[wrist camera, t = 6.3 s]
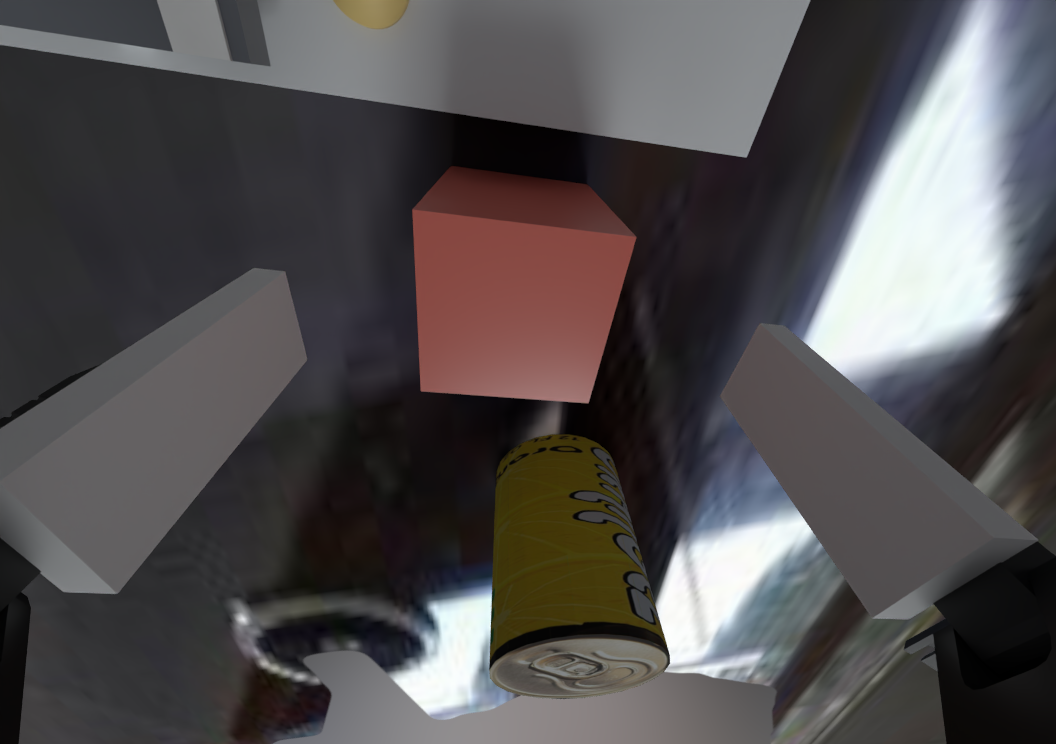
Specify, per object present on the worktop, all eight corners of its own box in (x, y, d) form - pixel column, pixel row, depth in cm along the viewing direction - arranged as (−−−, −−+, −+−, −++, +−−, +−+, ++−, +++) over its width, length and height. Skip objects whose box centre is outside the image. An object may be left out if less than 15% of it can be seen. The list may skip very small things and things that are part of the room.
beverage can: (559, 524, 32) (581, 707, 23) (472, 484, 29) (453, 681, 19) (639, 468, 28) (707, 660, 19) (550, 414, 25) (576, 616, 15)
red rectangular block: (450, 295, 20) (420, 390, 13) (451, 165, 16) (412, 209, 10) (562, 306, 20) (588, 403, 14) (587, 184, 17) (636, 237, 10)
